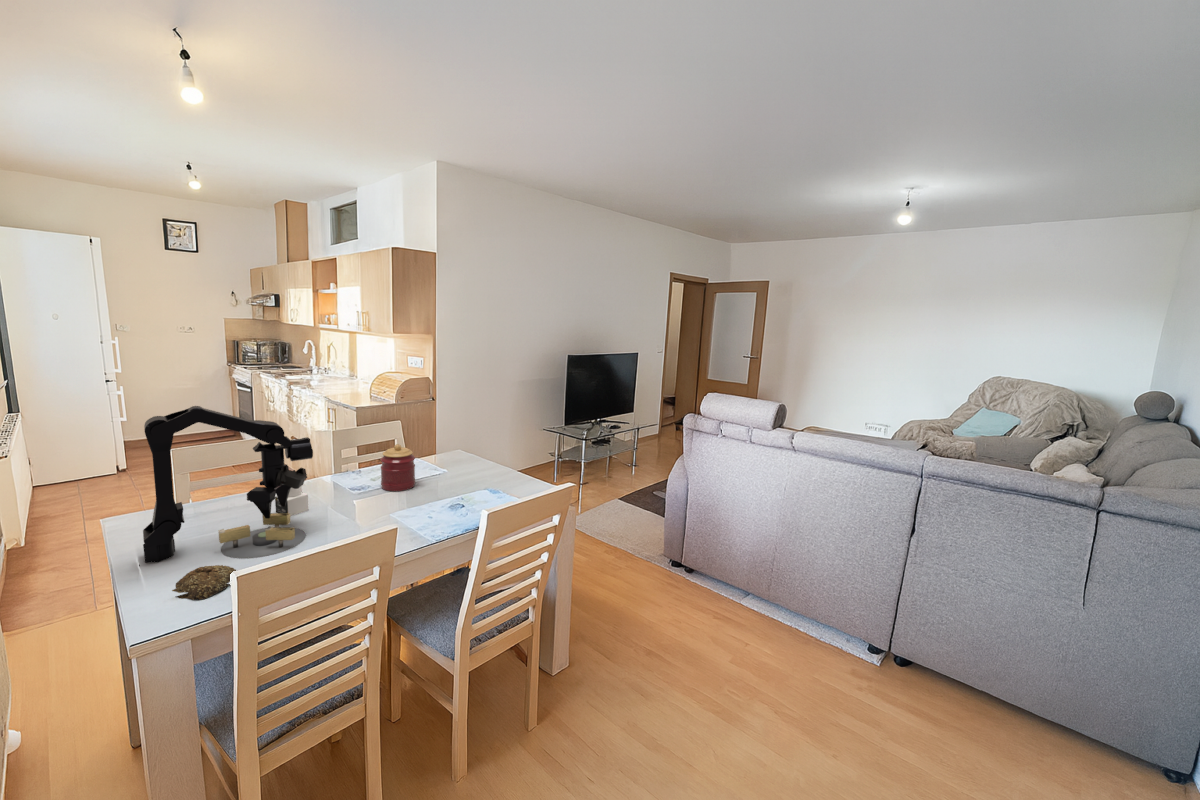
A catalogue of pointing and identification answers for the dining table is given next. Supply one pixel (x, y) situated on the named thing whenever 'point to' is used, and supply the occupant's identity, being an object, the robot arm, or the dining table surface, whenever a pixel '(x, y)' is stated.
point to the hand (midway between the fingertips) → (275, 512)
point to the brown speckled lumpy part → (204, 582)
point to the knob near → (280, 534)
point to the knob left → (234, 534)
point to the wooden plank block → (277, 519)
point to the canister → (397, 469)
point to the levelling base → (260, 550)
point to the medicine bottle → (293, 502)
